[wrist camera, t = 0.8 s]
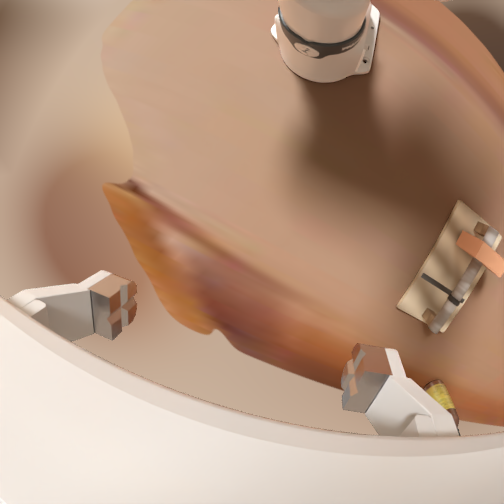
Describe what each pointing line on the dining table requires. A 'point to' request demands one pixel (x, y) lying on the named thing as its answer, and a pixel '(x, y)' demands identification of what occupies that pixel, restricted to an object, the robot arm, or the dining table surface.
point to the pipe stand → (448, 271)
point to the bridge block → (481, 252)
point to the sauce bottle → (442, 398)
